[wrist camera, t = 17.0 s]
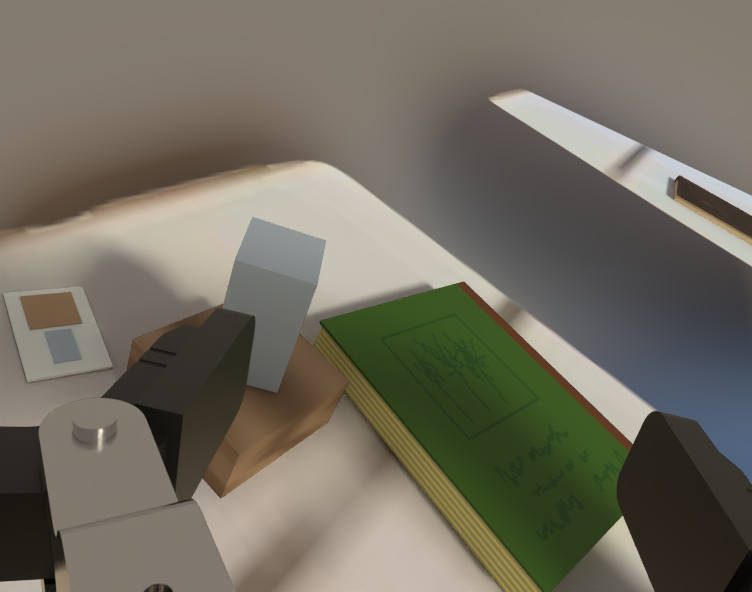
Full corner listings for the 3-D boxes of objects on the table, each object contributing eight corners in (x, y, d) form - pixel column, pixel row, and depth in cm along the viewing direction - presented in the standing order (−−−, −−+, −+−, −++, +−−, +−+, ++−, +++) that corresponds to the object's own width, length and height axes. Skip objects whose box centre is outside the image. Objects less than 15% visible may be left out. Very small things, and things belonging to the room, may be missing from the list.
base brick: (238, 337, 46) (254, 291, 43) (326, 424, 43) (349, 381, 40) (122, 391, 39) (132, 339, 36) (219, 501, 36) (238, 454, 33)
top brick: (288, 344, 40) (326, 240, 35) (277, 393, 37) (317, 285, 31) (223, 326, 39) (252, 216, 34) (205, 373, 36) (234, 259, 31)
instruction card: (81, 288, 43) (82, 285, 43) (112, 367, 39) (113, 364, 39) (3, 294, 40) (3, 291, 40) (27, 382, 36) (27, 379, 36)
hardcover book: (634, 497, 50) (662, 473, 48) (515, 620, 37) (547, 594, 35) (442, 303, 61) (459, 276, 59) (300, 346, 48) (314, 314, 46)
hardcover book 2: (772, 260, 119) (781, 252, 118) (670, 202, 123) (677, 193, 122) (765, 235, 132) (772, 227, 131) (672, 182, 136) (679, 174, 135)
